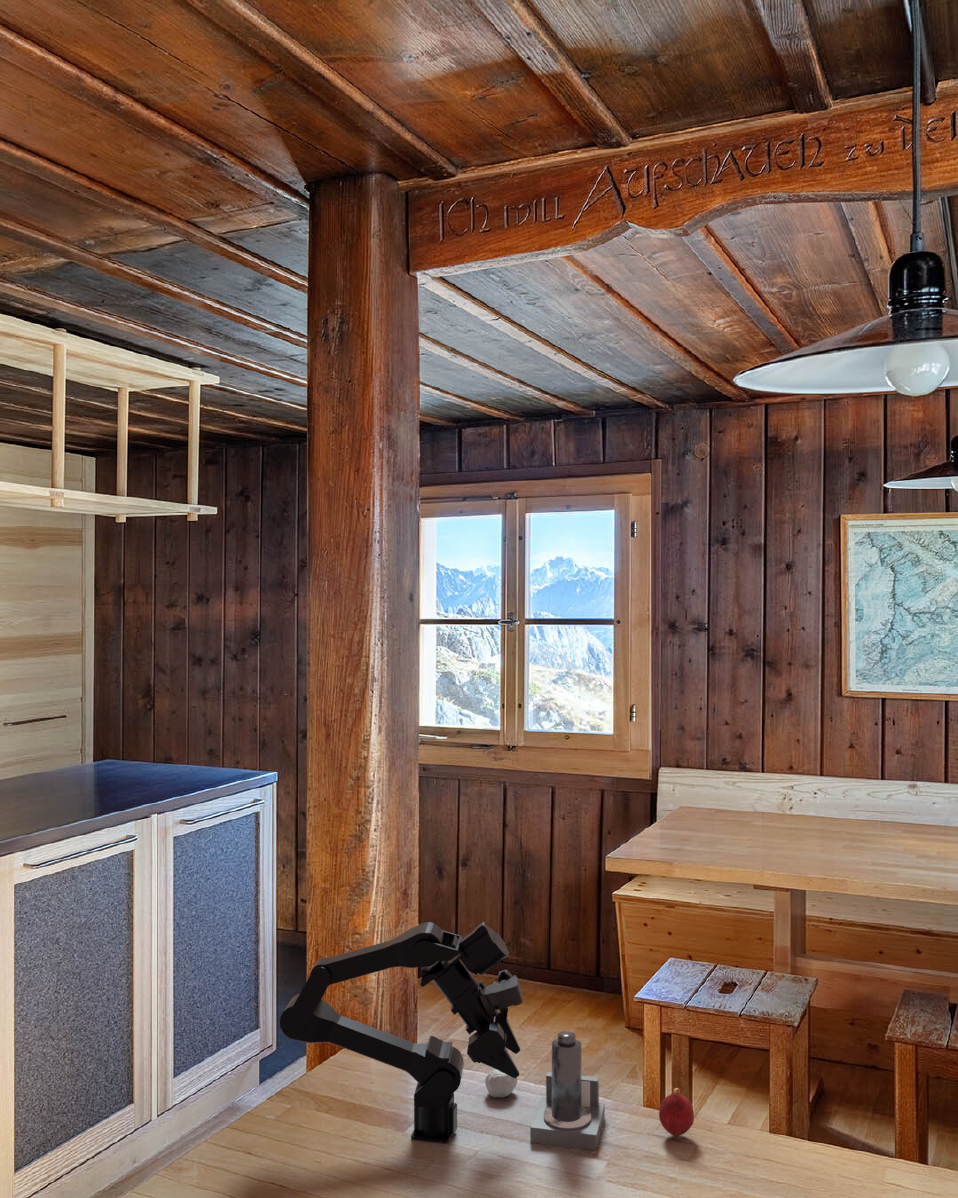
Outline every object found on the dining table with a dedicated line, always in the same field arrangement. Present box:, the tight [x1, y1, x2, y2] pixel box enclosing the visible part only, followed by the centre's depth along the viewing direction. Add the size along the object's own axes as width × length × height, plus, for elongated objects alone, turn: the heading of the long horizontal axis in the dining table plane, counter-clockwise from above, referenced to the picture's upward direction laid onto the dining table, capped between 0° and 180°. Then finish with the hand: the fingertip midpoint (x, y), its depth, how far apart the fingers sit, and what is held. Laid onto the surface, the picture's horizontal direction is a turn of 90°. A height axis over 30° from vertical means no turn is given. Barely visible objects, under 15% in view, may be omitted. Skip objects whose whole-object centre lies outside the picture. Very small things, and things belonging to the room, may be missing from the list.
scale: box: [529, 1071, 606, 1151], centre depth 180 cm, size 11×11×7 cm
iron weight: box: [551, 1030, 582, 1122], centre depth 178 cm, size 5×5×14 cm
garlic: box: [485, 1068, 518, 1098], centre depth 193 cm, size 6×5×5 cm
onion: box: [658, 1087, 695, 1138], centre depth 177 cm, size 6×6×8 cm
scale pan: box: [544, 1106, 591, 1130], centre depth 179 cm, size 8×8×1 cm
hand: (517, 1064), depth 178 cm, fingers open, 9 cm apart
